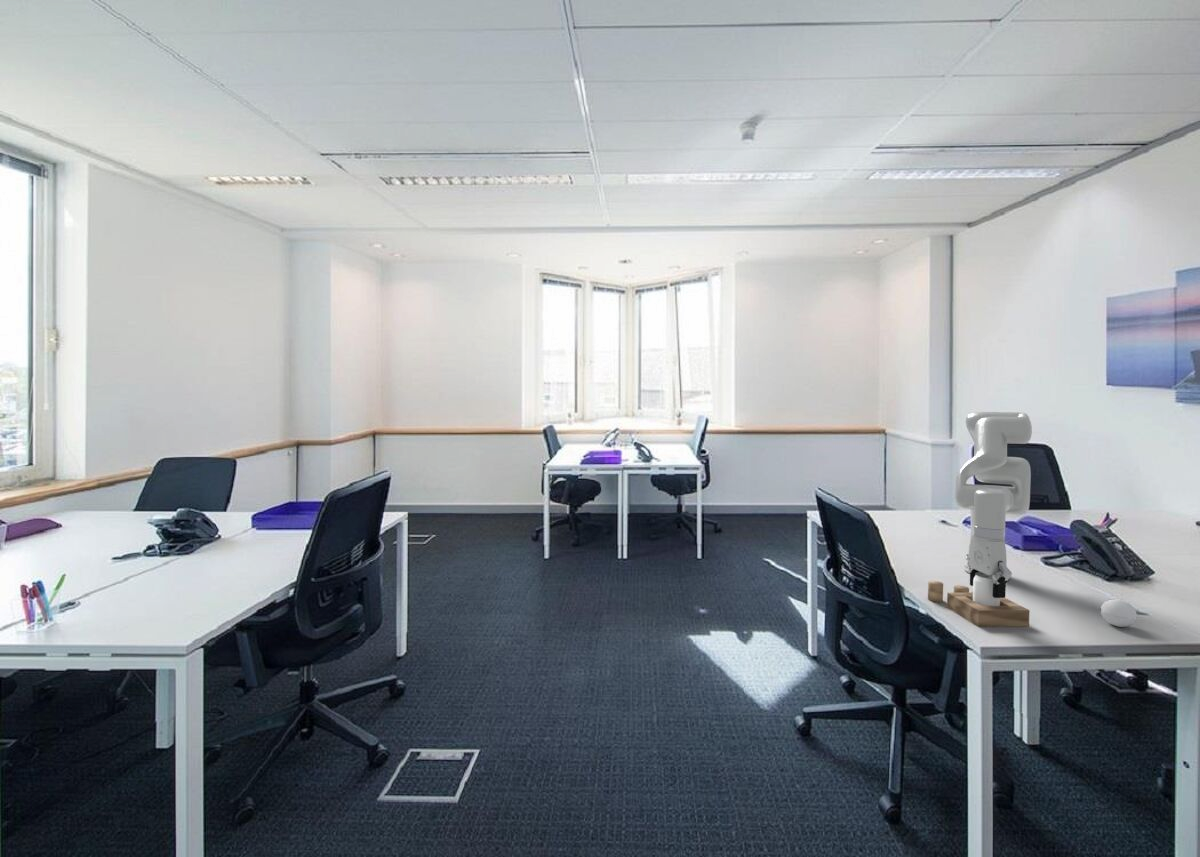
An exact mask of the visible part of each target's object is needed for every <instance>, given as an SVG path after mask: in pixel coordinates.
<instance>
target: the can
mask: <svg viewBox="0 0 1200 857" xmlns="http://www.w3.org/2000/svg"><path fill="white" fill-rule="evenodd" d="M997 578H998V579H999V576H997ZM993 583H995V582H994V580H993V577H992V575H986V574H984V573H981V572H977V573H975V577H974V579H973V586H972V592H973V601H974V602H976V603H978V604H979V605H981V606H1000V598H994V597H993Z"/></svg>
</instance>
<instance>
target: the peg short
mask: <svg viewBox="0 0 1200 857" xmlns="http://www.w3.org/2000/svg"><path fill="white" fill-rule="evenodd" d="M953 593H970V587H968V586H965V585H959V584H958V585H953Z"/></svg>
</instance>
